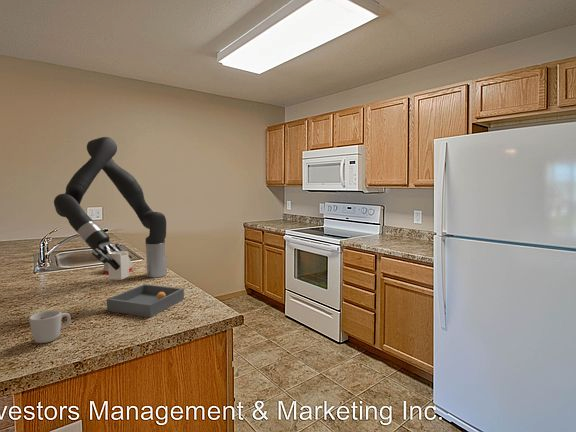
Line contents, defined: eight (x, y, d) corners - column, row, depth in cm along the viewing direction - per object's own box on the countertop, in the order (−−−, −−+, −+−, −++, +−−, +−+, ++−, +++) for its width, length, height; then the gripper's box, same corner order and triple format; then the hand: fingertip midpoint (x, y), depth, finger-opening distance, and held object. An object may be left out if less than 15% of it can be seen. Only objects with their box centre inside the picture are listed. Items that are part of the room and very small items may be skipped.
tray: (144, 294, 147) (144, 284, 147) (184, 299, 141) (183, 288, 141) (107, 310, 128) (106, 299, 128) (150, 317, 122) (150, 305, 122)
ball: (163, 297, 134) (161, 303, 136) (167, 292, 137) (166, 298, 139) (155, 293, 135) (154, 299, 136) (160, 288, 138) (159, 294, 139)
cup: (65, 328, 113) (64, 305, 112) (76, 334, 108) (75, 310, 107) (26, 341, 104) (24, 316, 103) (37, 348, 99) (35, 322, 98)
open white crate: (108, 278, 132) (107, 253, 131) (117, 275, 137) (116, 250, 136) (121, 279, 131) (120, 254, 130) (129, 275, 136) (128, 251, 135)
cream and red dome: (123, 266, 195) (122, 240, 194) (137, 270, 187) (136, 243, 186) (98, 271, 184) (97, 244, 182) (111, 275, 176) (110, 247, 174)
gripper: (86, 231, 126) (117, 264, 126) (111, 226, 140) (139, 256, 140) (74, 245, 127) (104, 277, 127) (99, 239, 141) (127, 268, 141)
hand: (122, 266), depth 133 cm, fingers closed on open white crate, 5 cm apart
